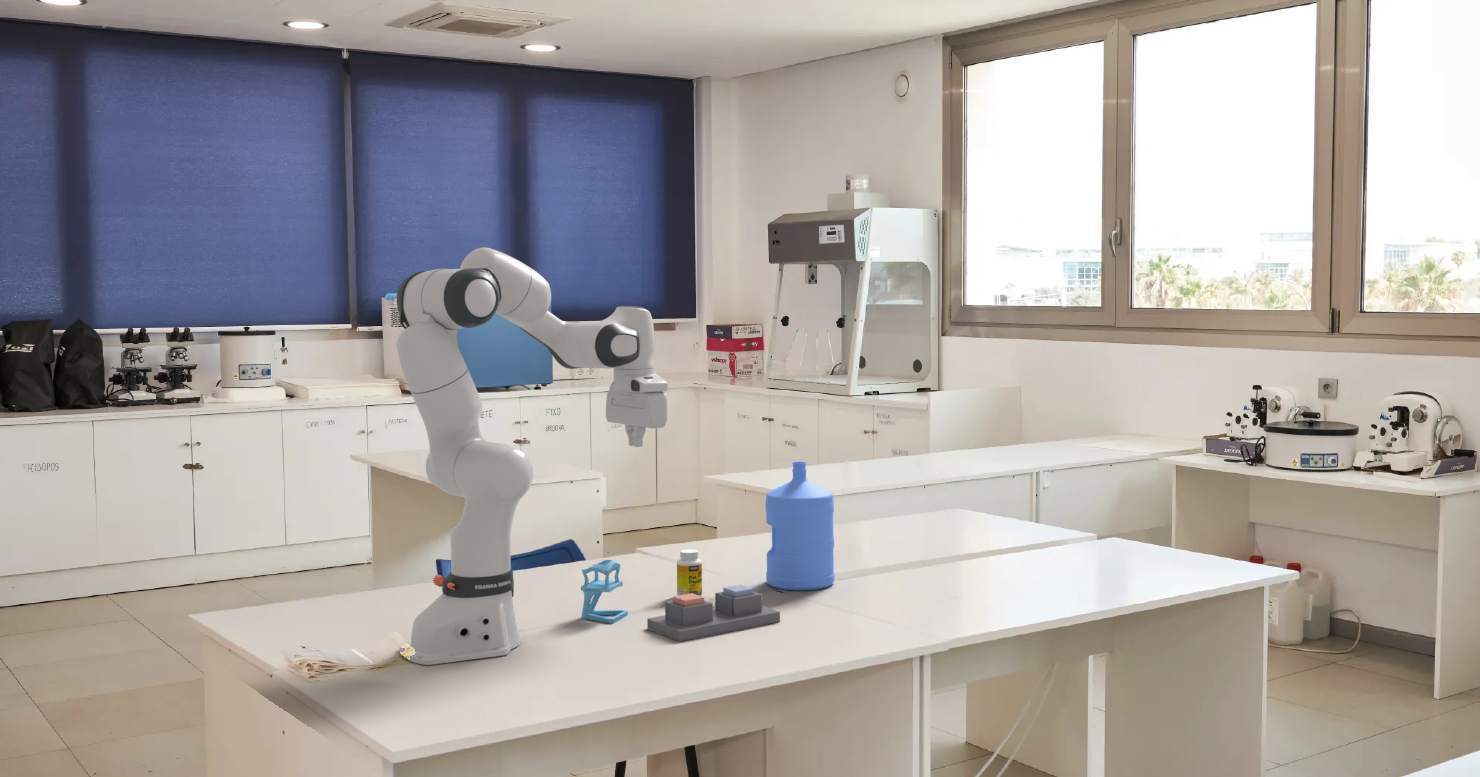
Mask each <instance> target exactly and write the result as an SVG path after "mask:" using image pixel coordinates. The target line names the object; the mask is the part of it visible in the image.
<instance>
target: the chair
mask: <svg viewBox="0 0 1480 777" xmlns="http://www.w3.org/2000/svg"><path fill="white" fill-rule="evenodd" d="M620 570H621V564H620V563H619V562H618V561H615V560H612V559H605V560H602V561H599V562H598V563H593V564H592V565H591V566H590V567H589V566H588V567H587V568H584V569H581V572H582V574H583V578H584V584H583V585H581V586H580V591H582V592H583V595H584V596H583V604H582V605H583V606H582V612H581V619H586V620H591V621H596V622H599V623H600V622H601V623H607V624H615V623H616V622H618V621H620V620H621V619H623V618H625V617H626V616H628V614H629V611H628V609H627V610H626V609H596V606H597V604H598V601H599V600H600V597H601V596H602V594H603V593H611V592H613V591H614V590H615V589H617V588H620V587H622V586H624V584H623V581H622V580H620V577H619V573H620ZM614 571H615V573H614V580H610V578H609V577H610V574H612V572H614ZM591 572H594V579H593V580H591V581H589V577H588V575H587V574H589V573H591ZM599 573H601V574H603V575H605V578H604V580H603V579H600V578H599V577H600V576H599ZM606 616H607V617H606ZM608 616H613V617H608Z"/></svg>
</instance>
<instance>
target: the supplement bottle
mask: <svg viewBox="0 0 1480 777" xmlns="http://www.w3.org/2000/svg"><path fill="white" fill-rule="evenodd" d="M679 552H680V554H679V559H678V560H676V596H679V595H685V594H690V593H693V594H696V595H699V596H703V595H702V594H703V562H702V560H701V558H699V550H698V549H693V548H692V549H691V548H690V549H689V548H687V549H682V550H680V551H679Z"/></svg>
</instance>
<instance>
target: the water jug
mask: <svg viewBox="0 0 1480 777" xmlns="http://www.w3.org/2000/svg"><path fill="white" fill-rule="evenodd" d="M791 464H792V478H791V481H789V482H786V483H784V484H783V485H781V486H778V487H776V488H774V489H772V490H770V491H768V492H767V493H766V495H765V496H766V497H765V499H766V500H765V513H766V516H765V518H766V520H765V521H766V522H765V523H766V524H767V525H769V526H771V548H770V549H769V550H768V551H767V552H766V573H765V574H766V576H765V578H766V580H765V581H766V582H767V584H768V586H770V587H772V588H774V589H775V588H776V589H779V590H783V591H784V590H786V591H800V592H801V591H803V592H805V591H815V590H816V591H817V590H820V589H826V588H828V587H830V586H832V585H833V583H835V571H834V565H835V564H834V560H835V559H834V557H835V555H834V548H835V536H834V511H835V504H834V503H835V502H834V495H833V493H832V492H831V491H829V490H828V489H825V488H824V487H821V486H819V485H817V484H815V483H813V482H811V481H809V480H808V478H807V468H806V465H807V462H806V461H794V462H792V463H791Z"/></svg>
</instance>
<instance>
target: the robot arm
mask: <svg viewBox="0 0 1480 777" xmlns="http://www.w3.org/2000/svg"><path fill="white" fill-rule="evenodd" d="M551 301H552V291H551V287H550V284H549V281H547V280H546V279H545V278H544V277H543V276H542V275H541V274H540V273H539V272H537V271H536V270H535V269H534V268H531V267H530V266H528V265H527V264H525V263H523V262H522V261H520V260H518V259H516V258H515V257H512V256H510V255H509V254H506V253H504V252H501V251H499V250H496V249H493V248H490V247H483V246H482V247H478V248H475V249H473V250H472V251H470V252H469V253H468V254H467V255H466V256H465V258H464V259H463V260H462V262H461V265H460V268H437V269H431V270H420V271H417V272H414V273H413V274H411V275H409V276H408V277H405V278H404V279H403V280H402V281H401V283H400V284H399V286H398V288H397V292H396V305H397V306H396V307H397V312H398V313H399V314H398V315H399V322H400V324H401V326H402V328H403V329H404V330H403V331H402V332H401V333H400V334H399V335H398V338H397V340H396V349H397V354H398V360H399V363H400V366H401V369H402V373H403V376H404V379H405V382H406V384H407V387H408V389H409V392H410V394H411V395H412V398H413V400H414V402H415V404H416V408H417V409H418V412H419V414H420V416H421V418H422V421H423V423H424V427H425V430H426V433H427V439H428V447H429V453H428V455H427V456H426V460H425V472H426V476H427V479H428V480H429V482H430V483H431V484H432V485H433V486H434V487H436V488H438V489H439V490H441V491H443V492H445V493H446V494H449V495H451V496H456V497H461V498H464V504H463V511H462V515H461V517H460V520H459V522H458V523H457V524H456V525H455V526H454V527H453V528H452V530H451V532H450V536H449V537H450V564H451V565H450V568H451V570H450V572H449V574H447V576H445V577H444V576H442V575H441V574H436V575H434V577H433V578H432V583H433V584H434V585H435V586H437V587H439V588H441V590H442V592H441V593H442V594H440V596H438V597H437V598H436V599H435V600H433V602H431V604H429V605H428V606H427V607H426V608H425V609H423V610H422V611H421V612H420V613H419V614H417V615H416V616H415V618H414V621H413V624H412V629H411V636H410V641H408V642H406V643H408V644H410V646H411V647H413V648H414V649H415V652H416V653H415V655H412V656H410V661H409V662H412V663H414V664H419V665H427V666H429V665H430V666H431V665H438V664H446V663H454V662H462V661H469V660H477V659H485V658H493V657H501V656H505V655H508V654H510V651H511V650H512V649H515V648H516V647H518V646H520V645H521V643H522V639H521V636H520V633H519V629H518V626H517V621H516V617H515V610H514V600H513V598H514V593H515V590H514V589H515V580H514V570H513V569H512V568H511V567H512V566H511V532H512V531H511V530H512V525H513V520H514V516H515V512H516V510H517V506H518V504H519V502H520V500H521V499H522V498H523V497H524V496H525V495H526V494H527V492H528V491H529V490H530V488H531V486H532V483H533V480H534V467H533V465H532V464H533V463H532V460H530V458H529V456H528V455H527V454H526V453H524V452H523V451H521V450H520V449H518V448H515V447H513V446H511V445H508V444H506V443H499V442H492V441H491V442H490V441H487V440H485V439H484V438H483V436H482V434H481V432H480V426H479V416H481V413H482V411H483V402H482V401H483V400H482V399H481V397H480V394H479V392H478V389H477V387H476V384H475V382H474V380H473V377H472V374H471V373H470V371H469V368H468V366H467V364H466V361H465V359H464V358H463V355H462V353H461V351H460V350H459V346H458V329H464V328H466V329H470V328H471V329H473V328H476V327H479V326H481V325H485V324H486V323H487V322H489V321H490V320H491V319H493V317H494V316H495V314H496V315H498V316H499V317H501V318H503V319H505V320H506V321H508V322H510V323H513V324H514V325H515V326H516V327H517V328H518V329H520V330H522V331H523V332H524V333H525V334H527V335H528V336H530V337H531V338H533V339H534V340H536V341H537V342H539V343H540V344H541V345H543V346H544V347H545V348H546V349H547V350H548V351H549V352H550V354H551V356H552V357H553V358H554V360H555V361H556V362H557V363H558V364H559V365H560V366H561V367H563V368H565V369H570V370H576V369H613V381H612V382H611V384H610V385H609V390H608V391H607V394H606V400H605V418H606V421H607V422H608V423H611V424H620V425H625V426H624V430H625V433H626V436H627V437H628V446H629V447H634V448H635V447H636V448H641V447H643V444H644V443H643V439H644V436H645V434H646V428H647V429H662V428H665V426H666V425H667V421H668V398H667V394H666V393H665V392H667V391H668V389H669V388H668V387H669V386H668V381H666V380H665V379H664V378H663V377H662V376H660V375H659V374H658V373H656V364H655V361H654V351H655V345H656V344H655V327H654V319H653V317H652V314H651V312H650V311H649V310H648V309H647V308H645V307H642V306H635V305H619V306H617V307H616V308H615V310H614V312H612V314H611V315H609V316H608V317H607V318H605V319H602V320H600V321H599V322H594V321H593V322H588V321H585V322H582V321H581V322H580V321H564V320H562V319H560V318H559V317H557V316H556V315H554V314H553V313H552V312H550V311H549V308H550V306H551ZM398 649H399V650H398V653H399V652H404V651H405V648H401V647H400V646H399V648H398Z"/></svg>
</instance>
